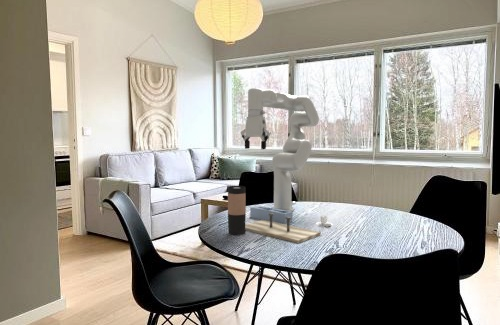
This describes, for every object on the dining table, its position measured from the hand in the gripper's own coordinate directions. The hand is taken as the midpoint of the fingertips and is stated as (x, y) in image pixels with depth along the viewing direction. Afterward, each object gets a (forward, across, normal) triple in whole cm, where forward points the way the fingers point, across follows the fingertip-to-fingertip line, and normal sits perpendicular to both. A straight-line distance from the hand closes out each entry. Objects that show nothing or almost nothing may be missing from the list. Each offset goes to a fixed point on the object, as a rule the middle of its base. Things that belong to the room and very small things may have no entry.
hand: (255, 148), depth 189 cm
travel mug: (+35, -9, +27) cm, 45 cm away
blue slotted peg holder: (+35, -8, -2) cm, 36 cm away
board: (+35, -23, +15) cm, 44 cm away
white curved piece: (+35, -33, -6) cm, 49 cm away
